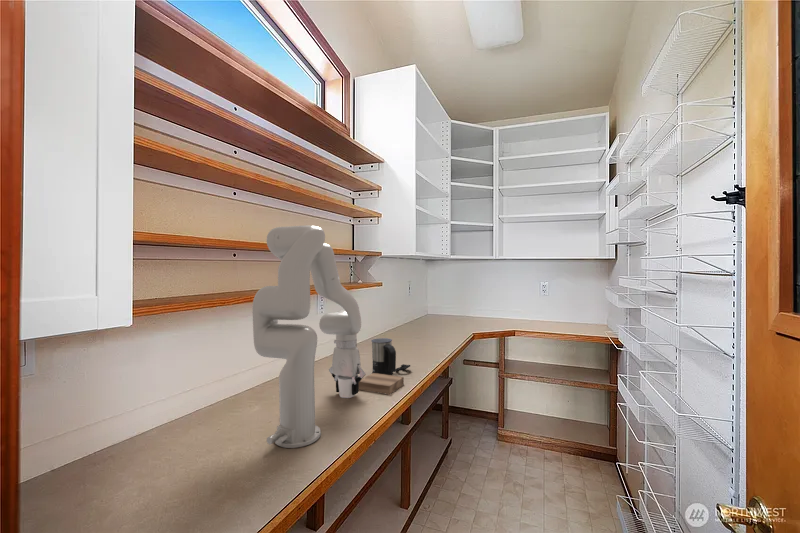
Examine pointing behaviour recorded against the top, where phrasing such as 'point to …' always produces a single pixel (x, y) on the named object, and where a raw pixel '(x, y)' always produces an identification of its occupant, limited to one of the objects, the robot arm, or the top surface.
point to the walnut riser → (381, 383)
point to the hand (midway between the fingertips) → (347, 392)
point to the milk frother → (384, 357)
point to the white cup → (345, 386)
